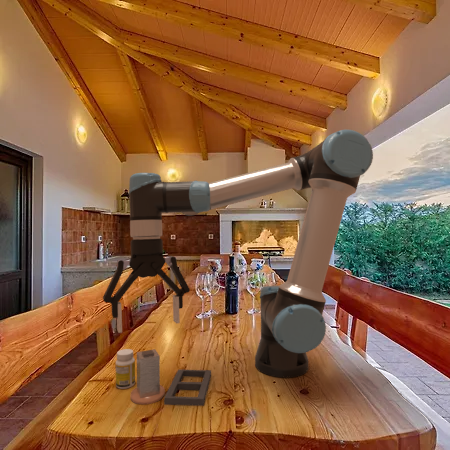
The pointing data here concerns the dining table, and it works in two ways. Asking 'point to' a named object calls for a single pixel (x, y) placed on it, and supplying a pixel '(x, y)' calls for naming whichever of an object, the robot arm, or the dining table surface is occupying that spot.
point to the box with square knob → (148, 373)
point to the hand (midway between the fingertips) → (149, 326)
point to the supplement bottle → (125, 369)
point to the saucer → (146, 400)
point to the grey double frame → (188, 388)
